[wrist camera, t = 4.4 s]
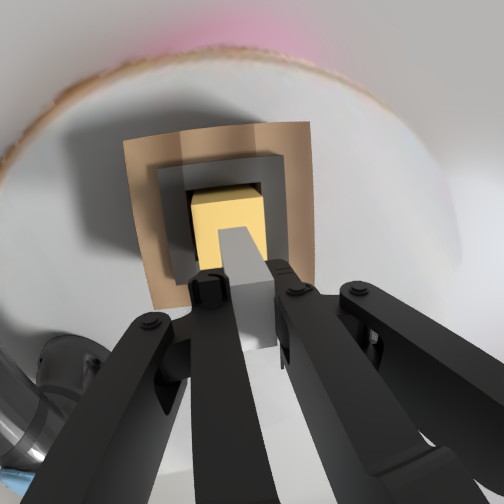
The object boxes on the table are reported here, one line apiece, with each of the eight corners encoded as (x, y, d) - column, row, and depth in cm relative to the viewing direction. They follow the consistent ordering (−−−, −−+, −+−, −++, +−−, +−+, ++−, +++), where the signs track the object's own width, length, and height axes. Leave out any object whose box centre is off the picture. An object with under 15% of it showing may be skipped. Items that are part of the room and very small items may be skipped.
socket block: (166, 265, 34) (152, 316, 23) (147, 142, 29) (119, 140, 18) (285, 249, 35) (318, 292, 25) (278, 127, 30) (314, 120, 20)
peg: (201, 232, 28) (200, 271, 19) (195, 185, 26) (190, 205, 18) (248, 226, 28) (267, 262, 20) (243, 180, 26) (262, 196, 18)
